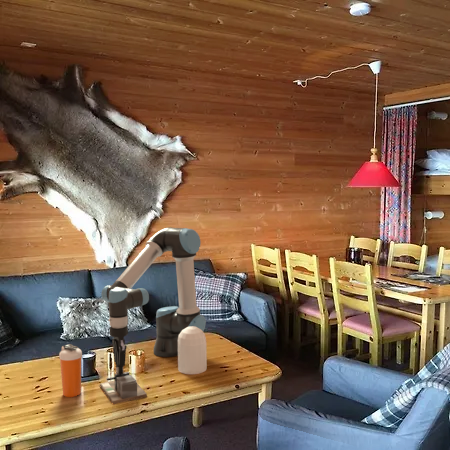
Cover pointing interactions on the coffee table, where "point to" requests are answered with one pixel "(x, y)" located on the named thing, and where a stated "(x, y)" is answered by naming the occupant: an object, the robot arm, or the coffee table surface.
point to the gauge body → (123, 389)
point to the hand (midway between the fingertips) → (119, 380)
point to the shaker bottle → (71, 370)
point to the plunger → (118, 376)
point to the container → (192, 351)
